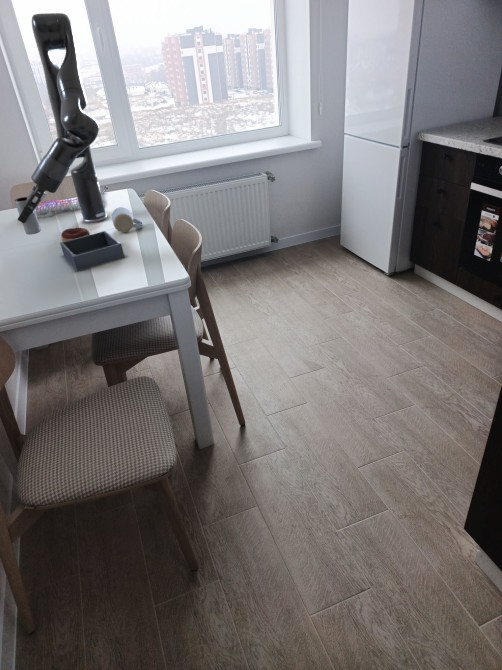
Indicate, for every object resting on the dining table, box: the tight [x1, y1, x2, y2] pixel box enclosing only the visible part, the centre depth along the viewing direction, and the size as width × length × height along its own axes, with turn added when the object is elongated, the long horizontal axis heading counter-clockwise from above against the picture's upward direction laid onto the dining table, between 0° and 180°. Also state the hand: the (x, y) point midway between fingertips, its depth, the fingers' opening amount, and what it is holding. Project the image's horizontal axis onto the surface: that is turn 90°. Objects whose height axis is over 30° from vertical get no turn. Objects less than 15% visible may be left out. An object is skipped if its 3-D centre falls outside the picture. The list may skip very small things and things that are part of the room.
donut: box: [60, 227, 91, 242], centre depth 171 cm, size 10×10×4 cm
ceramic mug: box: [111, 206, 144, 233], centre depth 177 cm, size 11×8×8 cm
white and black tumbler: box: [14, 196, 42, 236], centre depth 144 cm, size 4×4×10 cm
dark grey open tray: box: [59, 230, 125, 272], centre depth 156 cm, size 17×16×5 cm
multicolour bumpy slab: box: [34, 197, 81, 219], centre depth 207 cm, size 30×15×5 cm, turn 104°
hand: (22, 218), depth 144 cm, fingers closed on white and black tumbler, 4 cm apart
